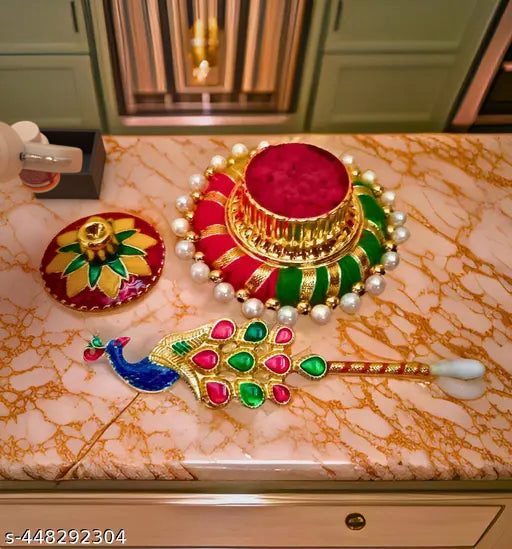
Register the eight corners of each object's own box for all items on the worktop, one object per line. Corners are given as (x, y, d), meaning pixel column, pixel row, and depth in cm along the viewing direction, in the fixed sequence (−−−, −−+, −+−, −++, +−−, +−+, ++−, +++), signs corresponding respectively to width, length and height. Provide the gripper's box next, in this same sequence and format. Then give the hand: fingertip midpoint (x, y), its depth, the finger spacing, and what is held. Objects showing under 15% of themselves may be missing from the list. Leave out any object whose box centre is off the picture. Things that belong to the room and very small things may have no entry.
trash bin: (36, 198, 117) (25, 174, 111) (47, 153, 124) (37, 127, 118) (99, 199, 118) (91, 175, 111) (106, 154, 124) (100, 128, 118)
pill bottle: (64, 188, 97) (47, 140, 87) (27, 198, 95) (5, 150, 86) (56, 162, 100) (39, 113, 90) (20, 172, 98) (-2, 123, 89)
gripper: (64, 138, 78) (97, 140, 92) (-83, 119, 79) (-28, 124, 92) (61, 185, 79) (95, 180, 93) (-83, 166, 80) (-29, 164, 94)
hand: (33, 152), depth 93 cm, fingers closed on pill bottle, 6 cm apart
